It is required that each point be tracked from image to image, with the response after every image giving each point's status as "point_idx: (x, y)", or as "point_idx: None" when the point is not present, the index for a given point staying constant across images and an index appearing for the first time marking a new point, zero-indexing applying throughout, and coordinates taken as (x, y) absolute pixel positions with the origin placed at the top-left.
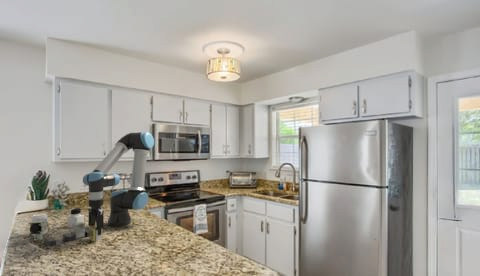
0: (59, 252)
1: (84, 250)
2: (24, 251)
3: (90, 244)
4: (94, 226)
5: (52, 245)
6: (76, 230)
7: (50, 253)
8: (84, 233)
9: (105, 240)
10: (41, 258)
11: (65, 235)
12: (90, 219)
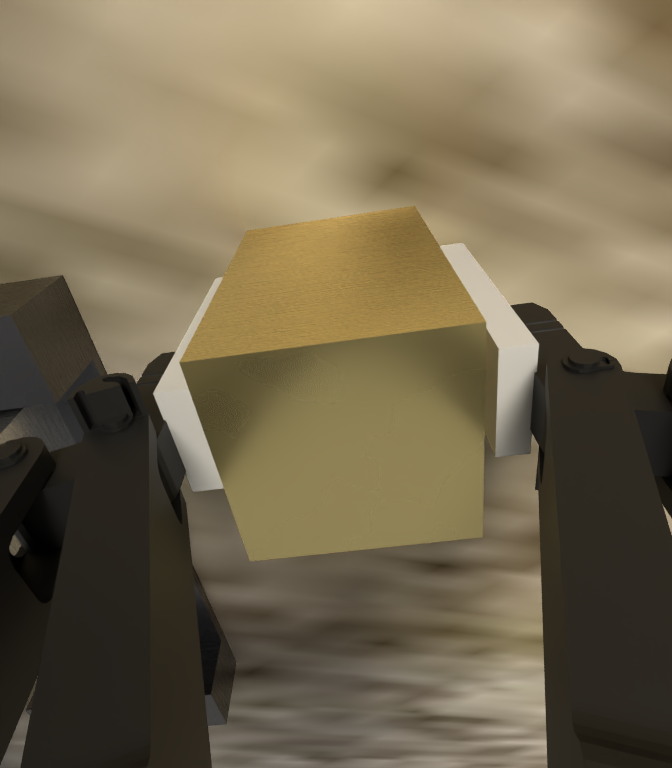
0: (479, 641)
1: None
2: (217, 752)
3: None
4: (374, 497)
5: (229, 661)
6: None
7: (438, 677)
8: (17, 422)
9: (514, 177)
10: (506, 716)
11: None
12: (10, 674)
